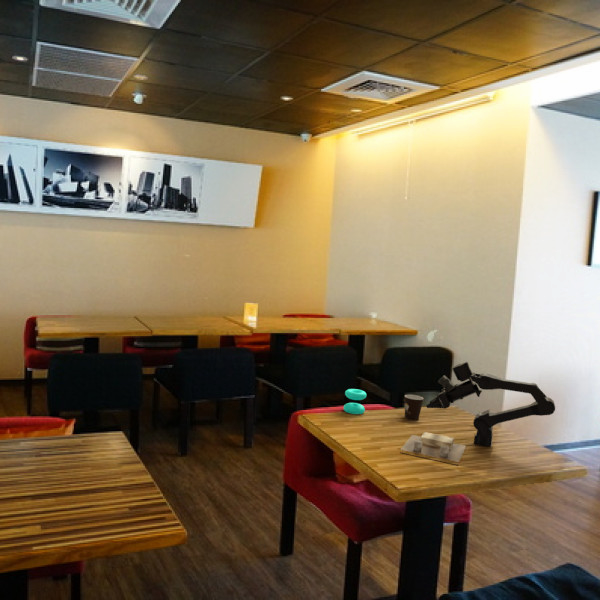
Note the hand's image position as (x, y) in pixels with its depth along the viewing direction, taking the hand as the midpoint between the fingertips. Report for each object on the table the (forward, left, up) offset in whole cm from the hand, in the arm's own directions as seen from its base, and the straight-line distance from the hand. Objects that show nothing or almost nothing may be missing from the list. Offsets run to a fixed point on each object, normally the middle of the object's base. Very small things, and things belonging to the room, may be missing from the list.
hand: (428, 404), depth 262 cm
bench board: (-7, +17, -14) cm, 23 cm away
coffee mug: (+11, -26, -14) cm, 32 cm away
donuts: (+36, -16, -14) cm, 42 cm away
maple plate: (-7, +11, -12) cm, 18 cm away
